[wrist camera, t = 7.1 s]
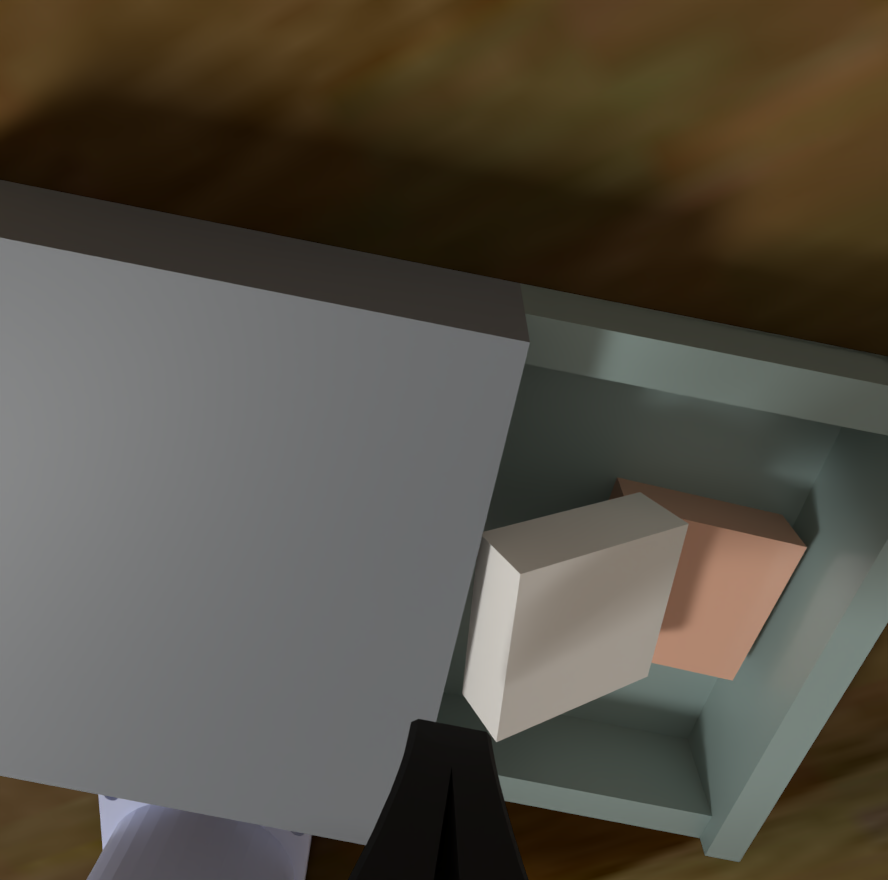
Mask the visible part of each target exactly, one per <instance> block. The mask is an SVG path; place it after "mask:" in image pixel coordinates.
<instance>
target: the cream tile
mask: <svg viewBox="0 0 888 880" xmlns="http://www.w3.org/2000/svg"><path fill="white" fill-rule="evenodd" d="M688 525H689V524H688V523H687V522H685V521H684V520H682V519H681V518H679V517H677V516H676V515H674V514H673V513H671V512H670V511H668V510H667V509H665V508H664V507H662V506H661V505H659V504H658V503H656V502H654V501H653V500H651V499H650V498H648V497H647V496H645V495H644V494H642V493H641V492H638V493H634V494H630V495H626V496H623V497H619V498H615V499H611V500H607V501H603V502H599V503H595V504H591V505H587V506H583V507H579V508H575V509H571V510H567V511H564V512H560V513H556V514H552V515H548V516H544V517H540V518H536V519H532V520H528V521H524V522H520V523H516V524H512V525H509V526H505V527H501V528H497V529H493V530H489V531H485V532H483V534H482V538H481V542H480V547H479V551H478V555H477V559H476V566H475V576H474V585H473V595H472V604H471V614H470V623H469V632H468V642H467V651H466V661H465V670H464V680H463V689H462V694H463V695H464V697H465V698H466V700H467V701H468V703H469V704H470V705H471V707H472V708H473V710H474V711H475V713H476V714H477V715H478V717H479V718H480V720H481V721H482V723H483V724H484V725H485V727H486V728H487V730H488V731H489V733H490V734H491V735H492V737H493V738H494V740H495V741H496V742H498V741H501V740H503V739H505V738H507V737H510V736H512V735H514V734H517V733H519V732H521V731H523V730H526V729H528V728H530V727H533V726H535V725H537V724H540V723H542V722H544V721H546V720H549V719H551V718H553V717H556V716H558V715H560V714H563V713H565V712H567V711H569V710H572V709H574V708H576V707H579V706H581V705H583V704H585V703H588V702H590V701H592V700H595V699H597V698H599V697H602V696H604V695H606V694H608V693H611V692H613V691H615V690H618V689H620V688H622V687H625V686H627V685H629V684H631V683H634V682H636V681H638V680H641V679H643V678H645V677H648V673H649V669H650V666H651V662H652V658H653V655H654V651H655V647H656V644H657V640H658V636H659V632H660V629H661V625H662V621H663V618H664V614H665V610H666V606H667V603H668V599H669V595H670V592H671V588H672V584H673V580H674V577H675V573H676V569H677V566H678V562H679V558H680V554H681V551H682V547H683V543H684V540H685V536H686V532H687V528H688Z"/></svg>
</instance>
